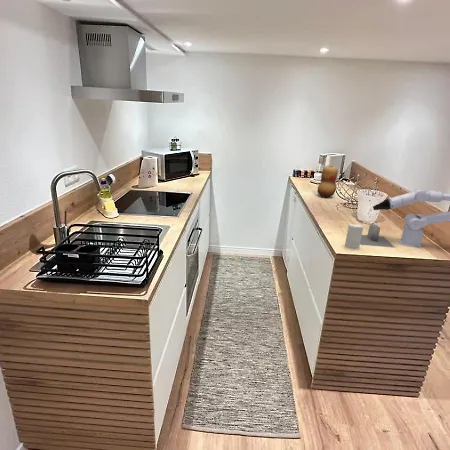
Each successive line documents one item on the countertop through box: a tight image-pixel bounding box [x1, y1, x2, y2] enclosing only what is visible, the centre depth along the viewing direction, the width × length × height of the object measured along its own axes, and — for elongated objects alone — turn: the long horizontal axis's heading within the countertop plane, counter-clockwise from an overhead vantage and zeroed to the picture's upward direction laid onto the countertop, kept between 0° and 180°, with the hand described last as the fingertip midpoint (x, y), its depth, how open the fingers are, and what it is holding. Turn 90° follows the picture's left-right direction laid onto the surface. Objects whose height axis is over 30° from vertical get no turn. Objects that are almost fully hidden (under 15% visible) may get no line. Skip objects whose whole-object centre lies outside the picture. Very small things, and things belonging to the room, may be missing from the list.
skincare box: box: [344, 223, 364, 250], centre depth 176 cm, size 6×4×12 cm
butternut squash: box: [317, 164, 339, 198], centre depth 274 cm, size 14×13×25 cm
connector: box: [366, 222, 381, 241], centre depth 190 cm, size 4×8×9 cm, turn 178°
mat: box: [360, 234, 396, 248], centre depth 189 cm, size 18×16×1 cm
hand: (374, 208), depth 187 cm, fingers open, 7 cm apart
